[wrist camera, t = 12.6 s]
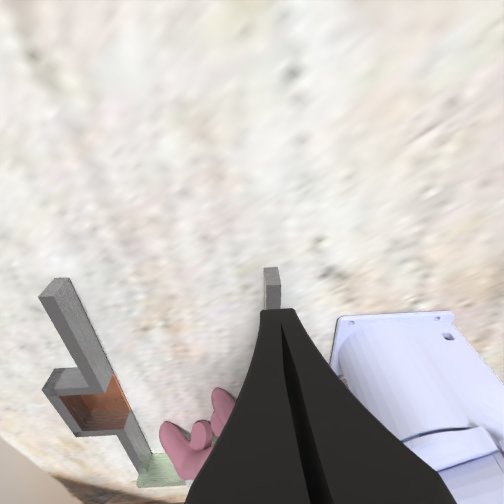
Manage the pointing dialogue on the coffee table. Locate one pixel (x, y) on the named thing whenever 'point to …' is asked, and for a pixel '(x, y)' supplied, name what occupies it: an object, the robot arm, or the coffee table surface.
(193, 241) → the coffee table surface
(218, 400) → the video game controller
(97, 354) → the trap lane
